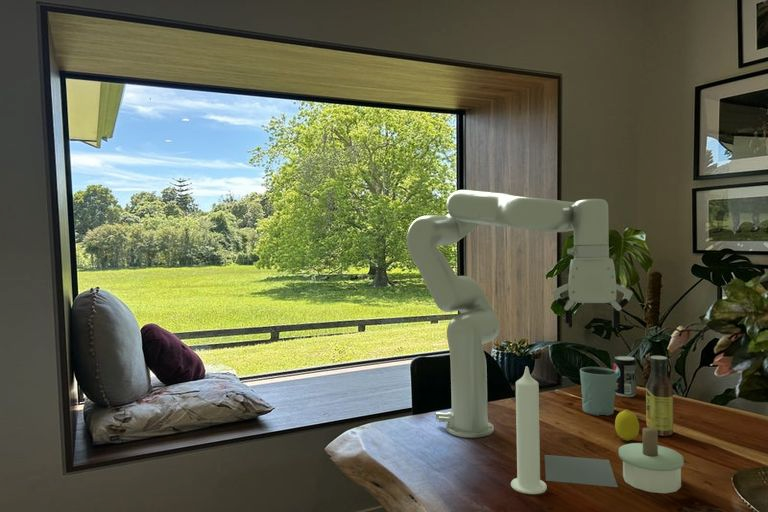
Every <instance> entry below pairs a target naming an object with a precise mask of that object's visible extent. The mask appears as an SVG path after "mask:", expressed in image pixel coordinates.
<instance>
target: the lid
mask: <svg viewBox="0 0 768 512" xmlns="http://www.w3.org/2000/svg"><path fill="white" fill-rule="evenodd" d="M658 439H659V435H658V431H657V430H656V429H654V428H647V427H643V428H642V442H635V443H634V442H631V443H627V444H626V443H625V444H623V445H622V446H620V447H619V448H618V457H619V458H620V460H622V462H623V461H624V462H626V463H628V464H630V465H632V466H635V467H639V468H643V469H647V470H654V471H672V470H677V469H680V468H681V469H682V468H683V466H684V456H683V455H682V454H681V453H679V452H678V451H676V450H675V449H672V448H669V447H666V446H662V445H659V444H658V443H659V441H658Z"/></svg>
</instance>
